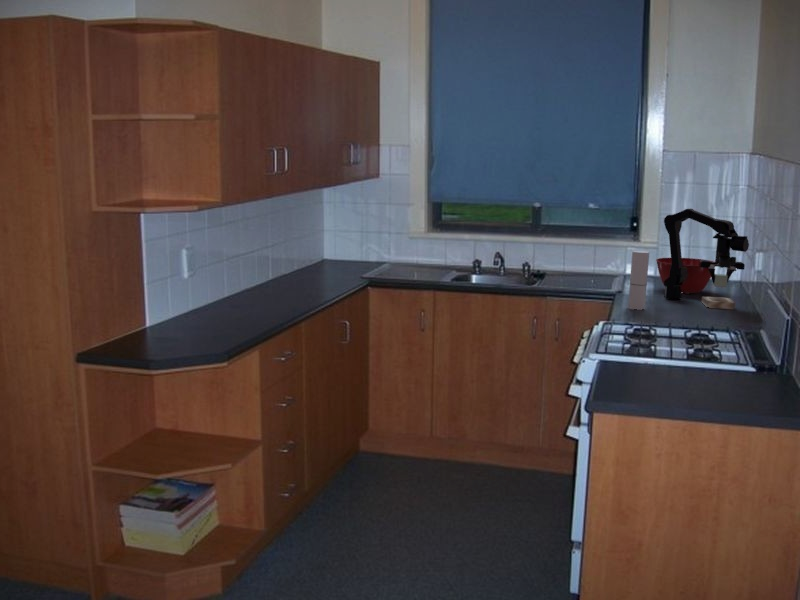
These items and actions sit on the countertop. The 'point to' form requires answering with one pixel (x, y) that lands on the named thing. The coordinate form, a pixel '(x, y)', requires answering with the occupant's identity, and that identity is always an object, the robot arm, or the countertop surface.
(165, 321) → the countertop surface
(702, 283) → the mixing bowl
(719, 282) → the gray cube
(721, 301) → the birch base
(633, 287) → the white rectangular tower
